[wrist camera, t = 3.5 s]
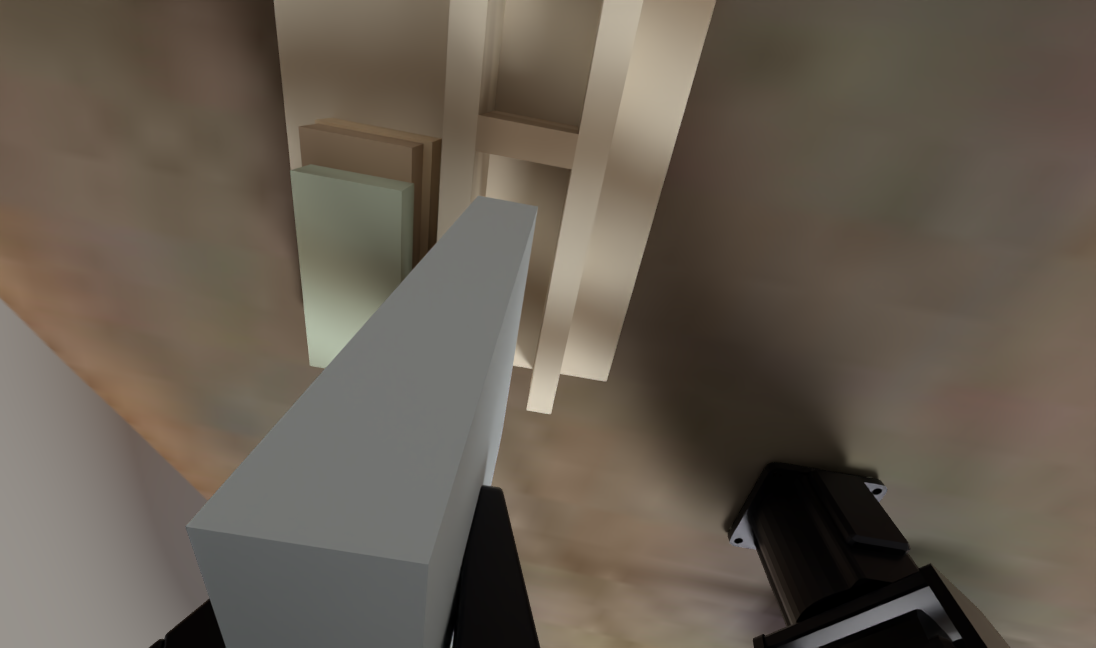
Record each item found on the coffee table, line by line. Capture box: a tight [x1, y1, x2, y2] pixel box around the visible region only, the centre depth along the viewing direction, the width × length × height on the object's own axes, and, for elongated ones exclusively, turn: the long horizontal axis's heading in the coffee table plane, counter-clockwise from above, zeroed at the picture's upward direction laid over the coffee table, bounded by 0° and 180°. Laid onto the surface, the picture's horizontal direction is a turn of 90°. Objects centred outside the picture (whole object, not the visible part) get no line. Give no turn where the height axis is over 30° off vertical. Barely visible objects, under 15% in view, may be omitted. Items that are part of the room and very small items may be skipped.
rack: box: [274, 0, 716, 414], centre depth 15 cm, size 20×14×4 cm
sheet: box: [186, 196, 538, 648], centre depth 9 cm, size 8×2×10 cm, turn 170°
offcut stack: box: [290, 118, 442, 368], centre depth 17 cm, size 9×4×4 cm, turn 170°
